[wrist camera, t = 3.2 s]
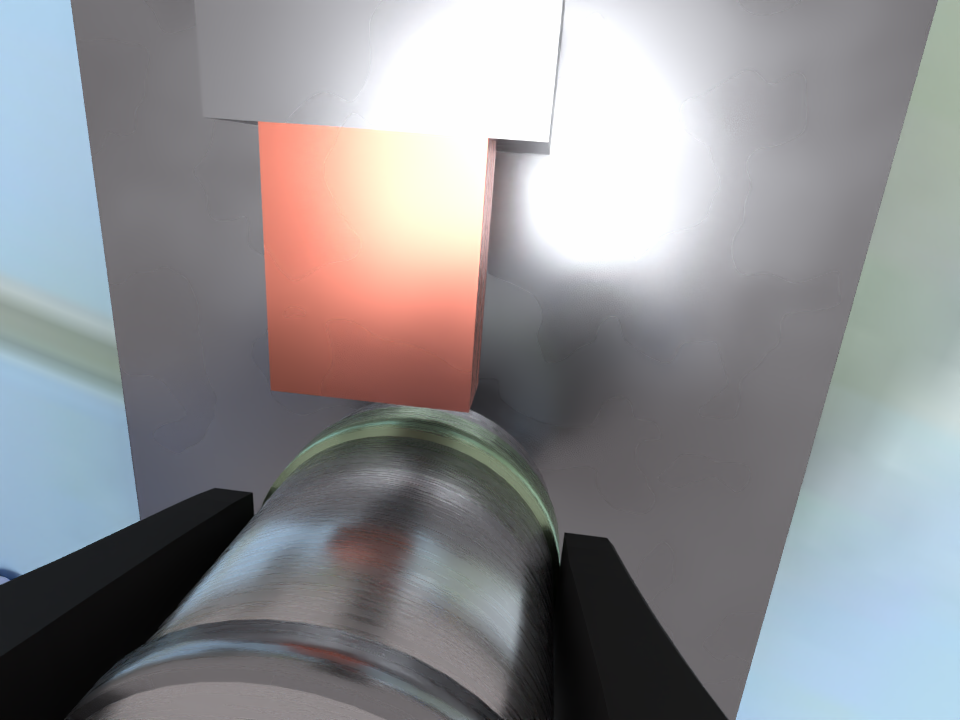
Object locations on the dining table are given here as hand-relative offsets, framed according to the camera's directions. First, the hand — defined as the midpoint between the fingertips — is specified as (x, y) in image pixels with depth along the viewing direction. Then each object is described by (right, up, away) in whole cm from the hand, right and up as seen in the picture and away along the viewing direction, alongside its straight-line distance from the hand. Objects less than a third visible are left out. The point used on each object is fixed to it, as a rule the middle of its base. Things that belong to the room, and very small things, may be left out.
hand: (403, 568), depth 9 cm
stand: (+1, +2, +5) cm, 5 cm away
